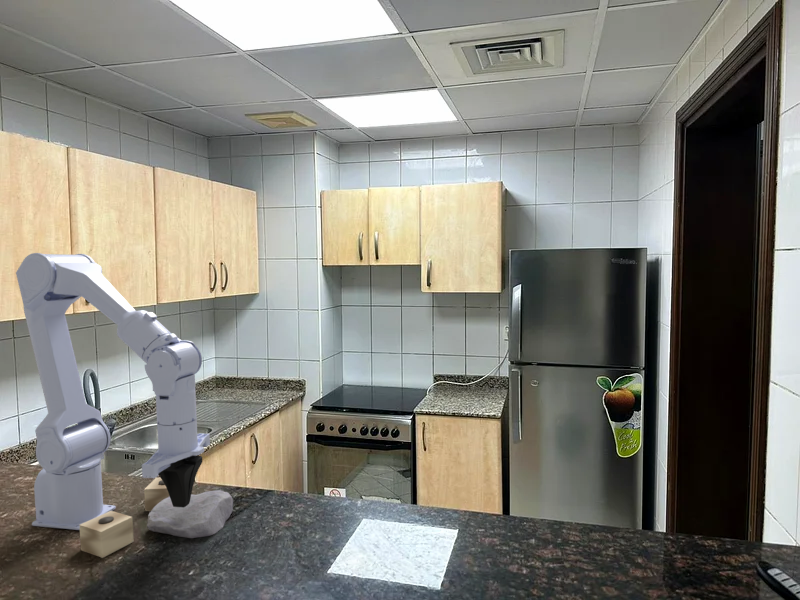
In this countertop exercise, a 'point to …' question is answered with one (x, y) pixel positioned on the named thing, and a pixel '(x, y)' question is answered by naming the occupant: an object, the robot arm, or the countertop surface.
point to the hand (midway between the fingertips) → (181, 505)
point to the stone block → (192, 515)
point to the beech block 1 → (106, 533)
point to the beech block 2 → (155, 493)
